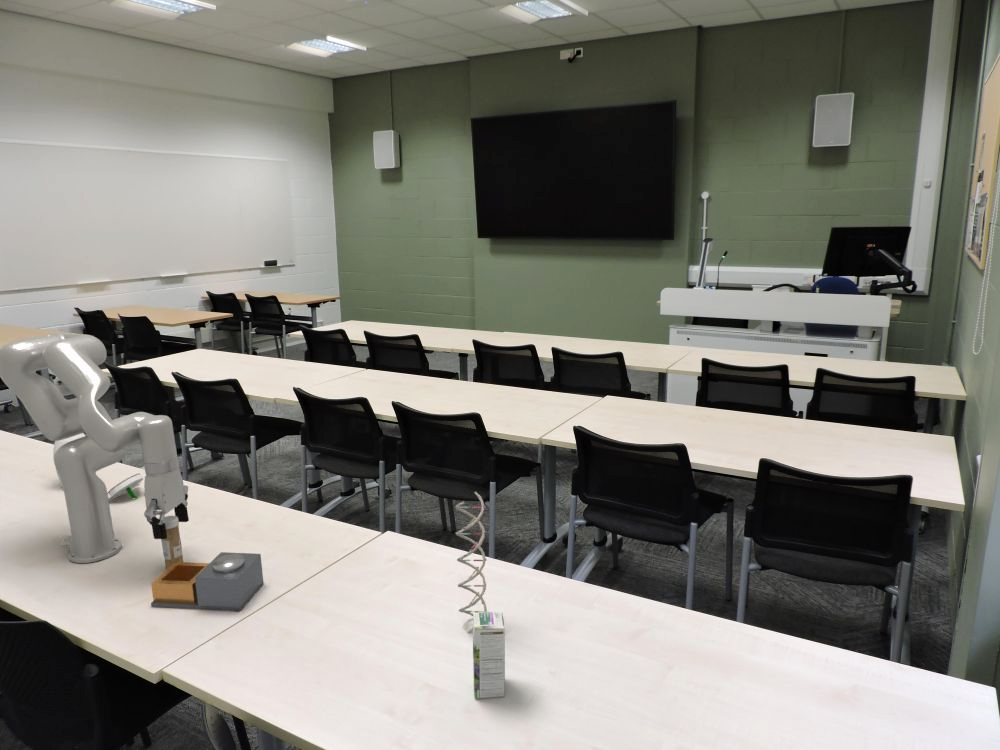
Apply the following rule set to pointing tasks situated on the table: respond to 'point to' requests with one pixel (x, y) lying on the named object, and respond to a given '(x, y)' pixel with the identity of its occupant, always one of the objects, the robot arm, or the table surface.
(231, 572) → the grey orange box device
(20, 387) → the robot arm
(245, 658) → the table surface
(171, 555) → the spice jar
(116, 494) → the tabbed white plastic disc
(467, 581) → the dna model
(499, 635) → the syrup box
